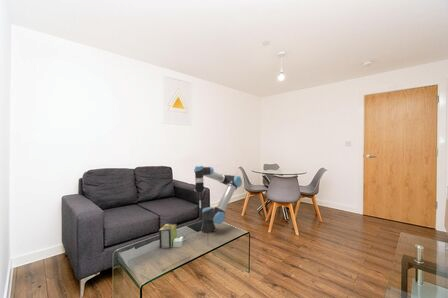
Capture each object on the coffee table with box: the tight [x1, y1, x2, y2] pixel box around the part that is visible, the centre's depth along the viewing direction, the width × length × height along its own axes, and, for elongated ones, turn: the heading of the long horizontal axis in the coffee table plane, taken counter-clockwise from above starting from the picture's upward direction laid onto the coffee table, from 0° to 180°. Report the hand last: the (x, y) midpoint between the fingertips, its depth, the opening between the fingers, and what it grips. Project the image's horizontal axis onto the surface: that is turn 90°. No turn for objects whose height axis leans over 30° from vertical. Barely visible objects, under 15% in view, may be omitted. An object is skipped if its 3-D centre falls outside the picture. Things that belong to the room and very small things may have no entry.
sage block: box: [172, 237, 184, 248], centre depth 180 cm, size 7×7×5 cm
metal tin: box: [177, 234, 186, 243], centre depth 189 cm, size 6×6×4 cm
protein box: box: [158, 223, 178, 249], centre depth 183 cm, size 10×15×16 cm
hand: (200, 207), depth 192 cm, fingers closed
